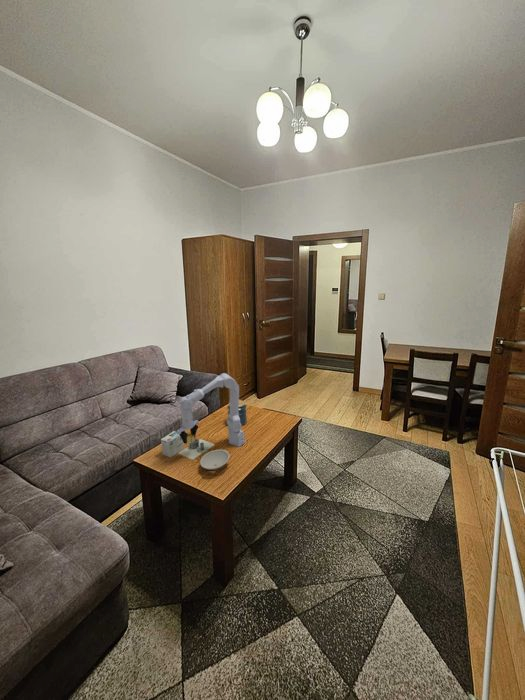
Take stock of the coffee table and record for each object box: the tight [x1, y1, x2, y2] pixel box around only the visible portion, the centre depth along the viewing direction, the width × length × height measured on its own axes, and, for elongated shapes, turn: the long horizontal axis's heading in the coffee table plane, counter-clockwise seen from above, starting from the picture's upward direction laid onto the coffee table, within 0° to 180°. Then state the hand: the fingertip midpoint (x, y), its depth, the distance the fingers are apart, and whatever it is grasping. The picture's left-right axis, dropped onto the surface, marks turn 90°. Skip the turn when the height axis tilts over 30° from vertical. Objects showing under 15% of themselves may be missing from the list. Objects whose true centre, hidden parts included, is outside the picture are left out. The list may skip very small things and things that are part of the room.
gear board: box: [177, 438, 215, 460], centre depth 169 cm, size 13×18×5 cm
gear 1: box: [186, 432, 195, 445], centre depth 163 cm, size 6×6×4 cm
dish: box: [199, 449, 230, 471], centre depth 154 cm, size 18×14×5 cm
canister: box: [227, 399, 248, 426], centre depth 201 cm, size 13×13×18 cm
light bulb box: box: [160, 430, 184, 458], centre depth 167 cm, size 11×7×11 cm, turn 152°
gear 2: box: [188, 437, 200, 449], centre depth 172 cm, size 6×6×4 cm
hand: (189, 440), depth 163 cm, fingers closed on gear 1, 6 cm apart
